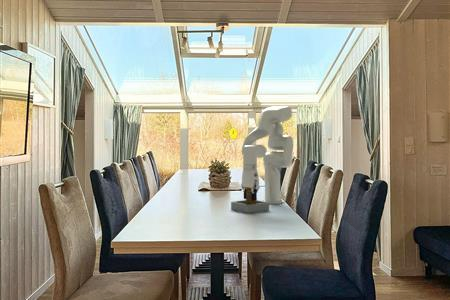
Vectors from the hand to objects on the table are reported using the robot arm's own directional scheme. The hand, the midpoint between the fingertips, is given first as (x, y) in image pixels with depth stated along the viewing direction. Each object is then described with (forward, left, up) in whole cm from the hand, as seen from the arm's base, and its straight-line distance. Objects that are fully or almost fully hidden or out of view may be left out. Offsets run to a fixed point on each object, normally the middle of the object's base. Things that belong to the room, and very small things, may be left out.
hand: (250, 199), depth 226 cm
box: (0, 0, -6) cm, 6 cm away
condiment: (0, 0, -4) cm, 4 cm away
